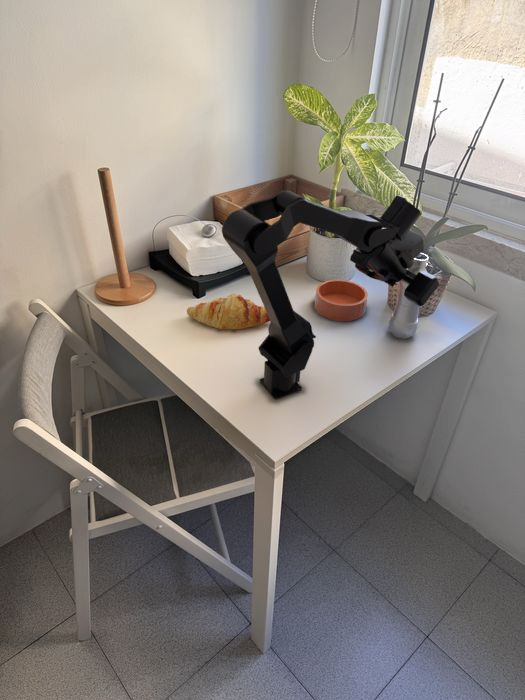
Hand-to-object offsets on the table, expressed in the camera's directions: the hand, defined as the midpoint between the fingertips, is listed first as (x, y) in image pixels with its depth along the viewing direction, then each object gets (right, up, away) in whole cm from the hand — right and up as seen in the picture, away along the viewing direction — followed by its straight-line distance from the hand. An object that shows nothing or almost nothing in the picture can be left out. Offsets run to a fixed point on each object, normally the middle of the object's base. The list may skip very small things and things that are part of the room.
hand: (408, 290), depth 112 cm
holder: (-13, -2, +16) cm, 21 cm away
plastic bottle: (0, -9, +8) cm, 12 cm away
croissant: (-40, -6, +10) cm, 41 cm away
